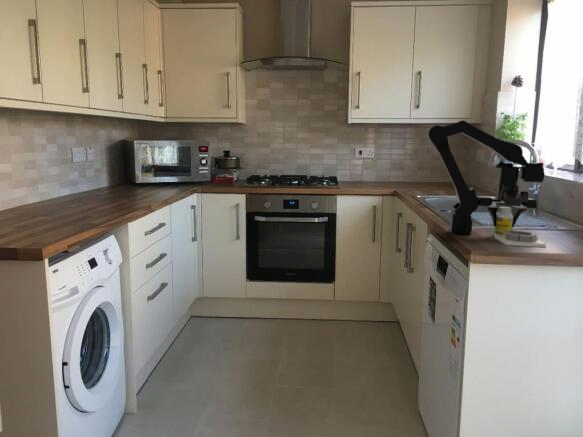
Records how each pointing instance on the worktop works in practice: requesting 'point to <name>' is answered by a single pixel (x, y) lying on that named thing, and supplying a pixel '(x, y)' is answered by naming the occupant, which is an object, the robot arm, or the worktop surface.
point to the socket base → (520, 238)
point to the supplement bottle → (503, 220)
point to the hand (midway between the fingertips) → (503, 227)
